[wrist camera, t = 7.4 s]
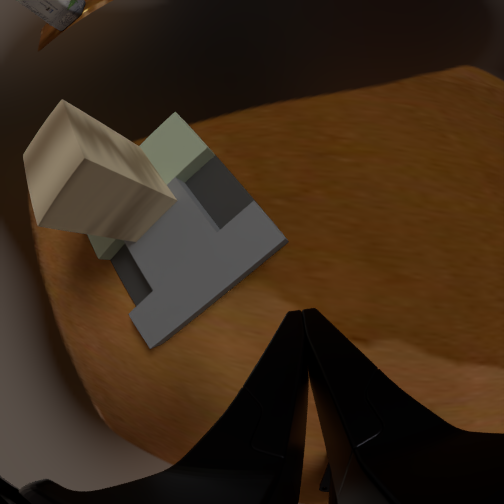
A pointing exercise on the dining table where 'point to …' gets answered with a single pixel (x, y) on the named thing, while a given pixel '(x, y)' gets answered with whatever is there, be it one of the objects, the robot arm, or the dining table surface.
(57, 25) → the juice carton
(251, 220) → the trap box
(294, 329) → the robot arm
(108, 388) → the dining table surface
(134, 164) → the maple block
